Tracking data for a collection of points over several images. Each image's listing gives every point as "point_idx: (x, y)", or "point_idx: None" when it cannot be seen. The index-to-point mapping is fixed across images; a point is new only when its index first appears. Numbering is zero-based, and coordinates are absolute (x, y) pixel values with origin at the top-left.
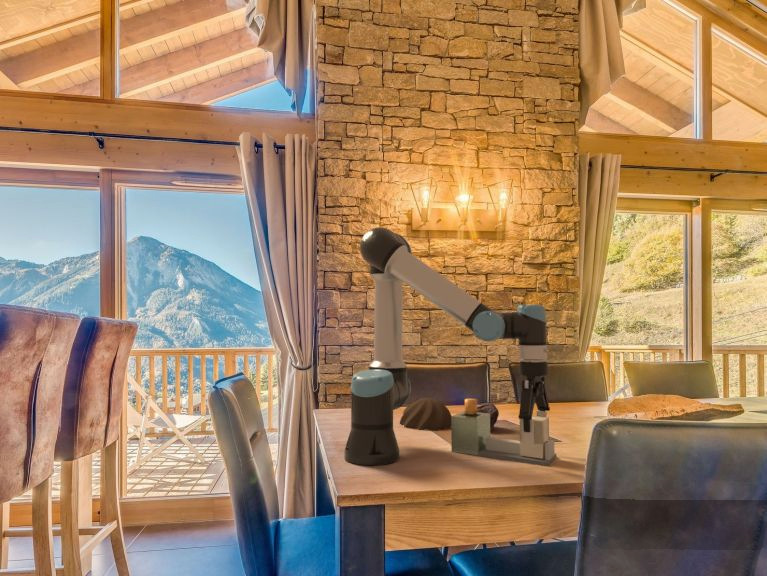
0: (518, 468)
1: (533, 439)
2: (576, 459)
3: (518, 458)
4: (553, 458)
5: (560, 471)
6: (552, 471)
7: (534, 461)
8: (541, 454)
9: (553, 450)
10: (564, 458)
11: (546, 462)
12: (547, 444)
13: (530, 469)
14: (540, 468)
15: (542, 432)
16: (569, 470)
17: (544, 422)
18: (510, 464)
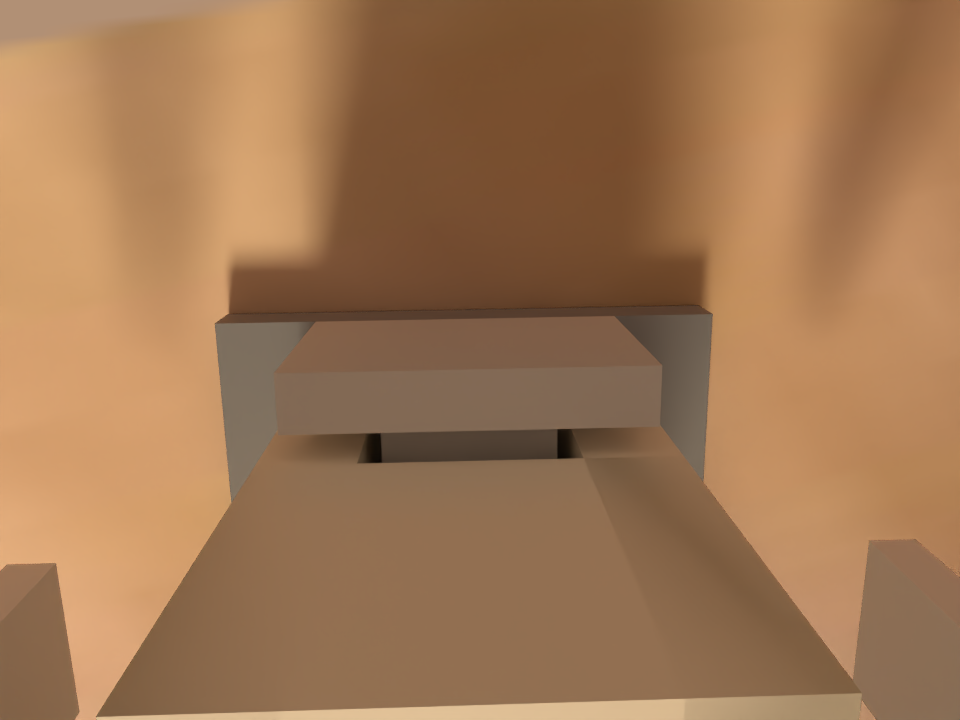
0: (937, 538)
1: (941, 583)
2: (160, 60)
3: None
4: (380, 315)
5: (842, 108)
6: (886, 192)
7: (702, 458)
8: None
9: (360, 337)
10: (211, 213)
11: (710, 319)
12: (645, 388)
13: (918, 423)
14: (826, 343)
15: (727, 543)
16: (745, 19)
17: (576, 655)
18: None
